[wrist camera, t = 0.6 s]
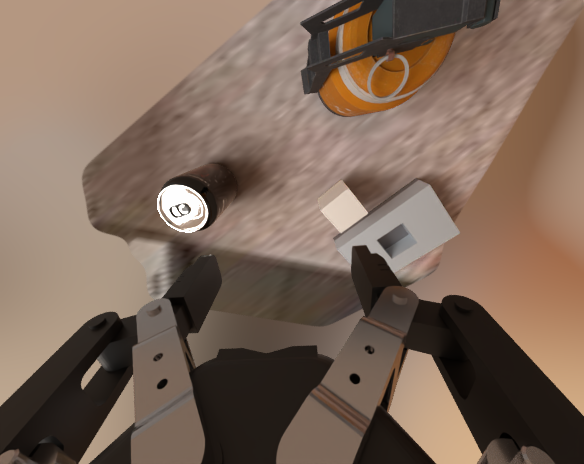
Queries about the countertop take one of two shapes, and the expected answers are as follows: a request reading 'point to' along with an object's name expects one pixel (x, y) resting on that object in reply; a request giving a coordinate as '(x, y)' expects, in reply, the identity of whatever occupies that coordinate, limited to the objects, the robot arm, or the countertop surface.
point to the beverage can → (197, 197)
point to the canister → (383, 49)
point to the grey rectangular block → (401, 227)
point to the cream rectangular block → (341, 206)
